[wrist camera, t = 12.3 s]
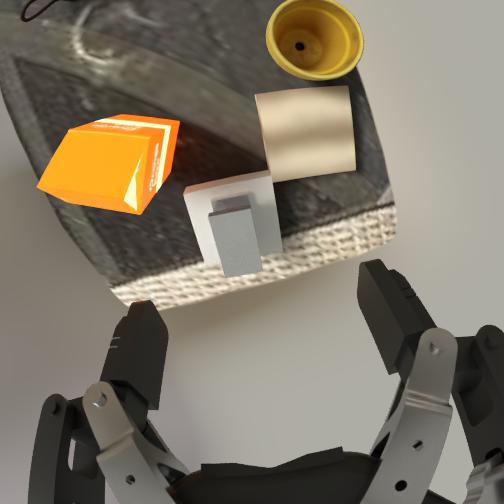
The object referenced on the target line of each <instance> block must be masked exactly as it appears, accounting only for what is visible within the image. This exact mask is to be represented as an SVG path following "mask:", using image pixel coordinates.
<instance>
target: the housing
mask: <svg viewBox="0 0 504 504" xmlns="http://www.w3.org/2000/svg"><path fill="white" fill-rule="evenodd" d="M211 204H212V208H213V212H211V213H209V214H208V219H209V223H210V226H211V230H212V233H213V237H214V240H215V244H216V247H217V250H218V254H219V257H220V261H221V264H222V267H223V271H224V274H225V277H226V278H228V277H234V276H239V275H245V274H250V273H256V272H261V271H263V267H262V262H261V257H260V249H259V244H258V239H257V234H256V229H255V224H254V219H253V214H252V209H251V204H250V199H249V194H248V191H244V192H239V193H234V194H229V195H225V196H220V197H215V198H211Z"/></svg>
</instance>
